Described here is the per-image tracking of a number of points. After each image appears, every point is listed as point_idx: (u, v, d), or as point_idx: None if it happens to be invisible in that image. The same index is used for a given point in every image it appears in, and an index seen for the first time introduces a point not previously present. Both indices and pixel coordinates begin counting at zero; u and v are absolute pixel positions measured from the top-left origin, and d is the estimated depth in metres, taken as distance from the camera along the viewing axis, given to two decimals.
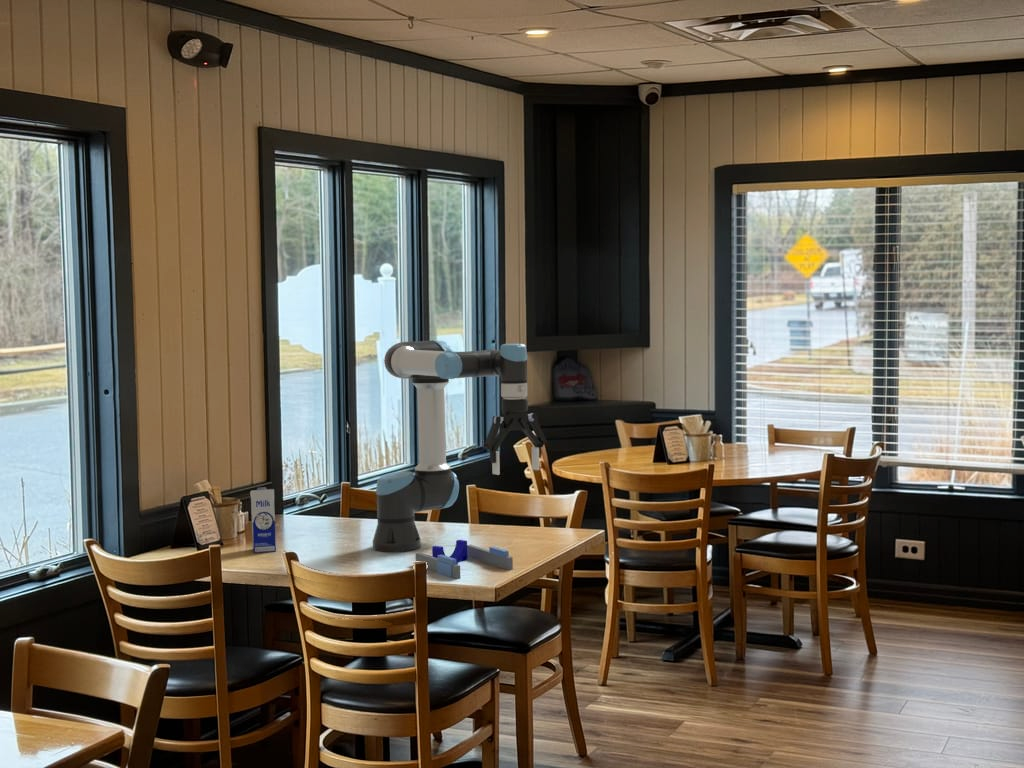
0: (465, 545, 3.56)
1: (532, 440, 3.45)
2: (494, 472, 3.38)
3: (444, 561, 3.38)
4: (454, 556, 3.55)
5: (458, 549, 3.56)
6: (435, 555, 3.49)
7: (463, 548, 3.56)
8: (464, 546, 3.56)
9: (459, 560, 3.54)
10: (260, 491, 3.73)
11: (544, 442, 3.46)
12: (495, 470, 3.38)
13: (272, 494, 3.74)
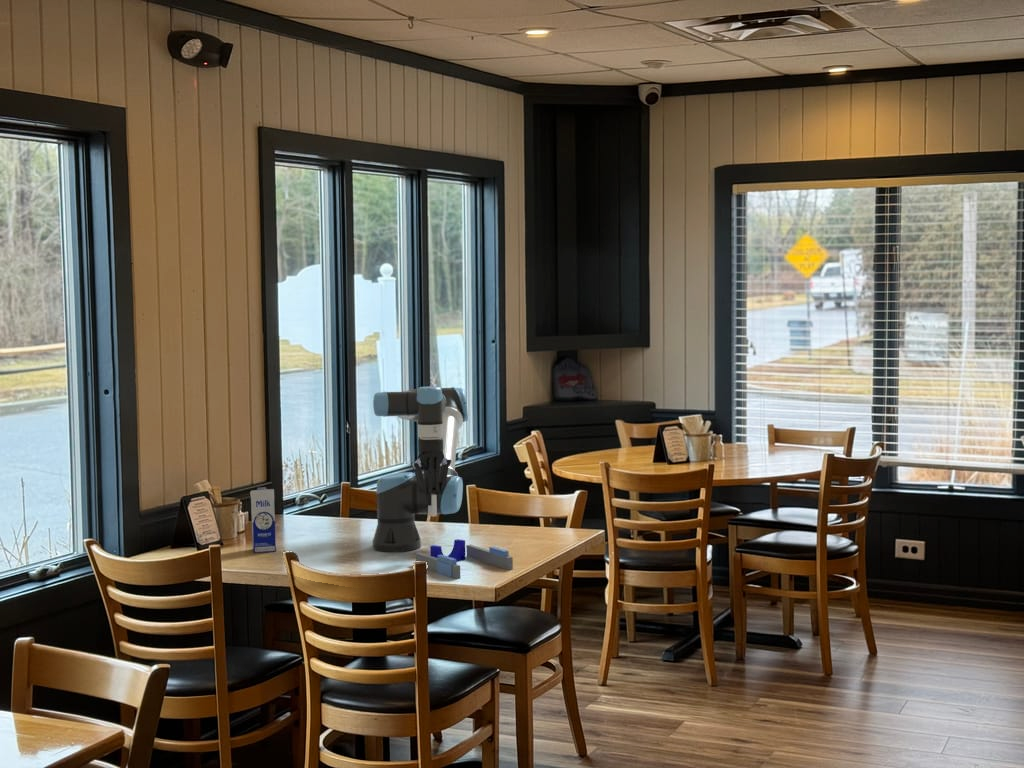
0: (463, 545, 3.57)
1: (434, 484, 3.61)
2: (430, 514, 3.61)
3: (444, 561, 3.38)
4: (452, 556, 3.55)
5: (456, 548, 3.57)
6: (433, 554, 3.50)
7: (461, 548, 3.56)
8: (462, 546, 3.57)
9: (457, 560, 3.55)
10: (260, 491, 3.73)
11: (442, 489, 3.61)
12: (430, 512, 3.60)
13: (272, 494, 3.74)
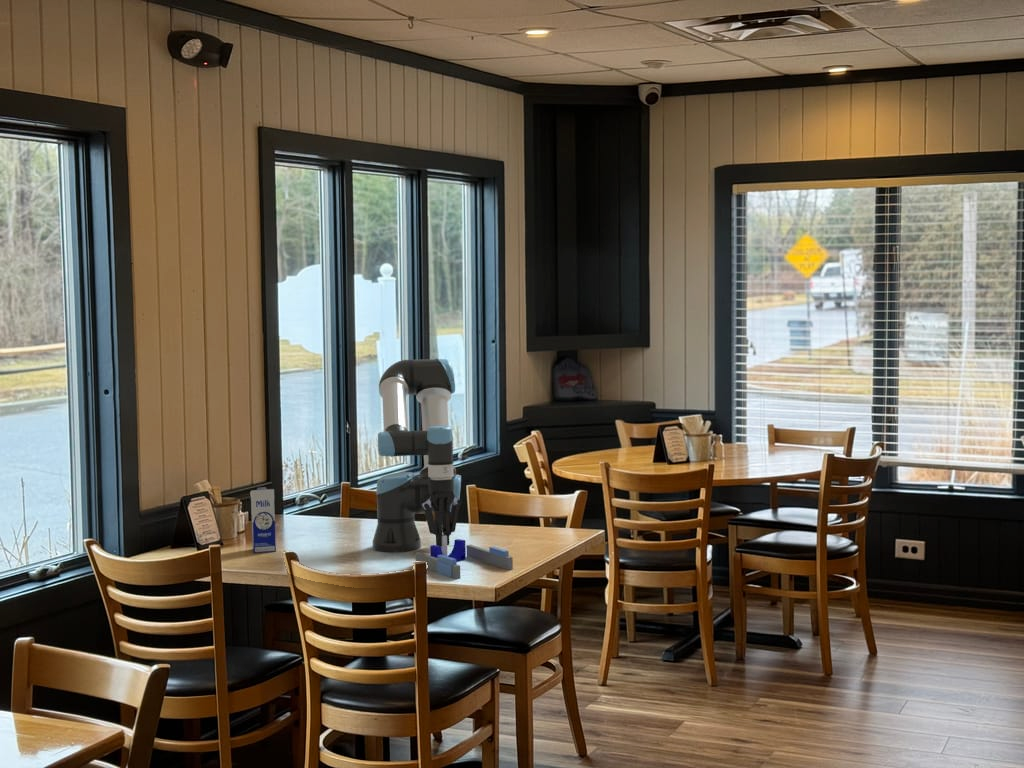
0: (464, 545, 3.57)
1: (444, 524, 3.57)
2: None
3: (444, 561, 3.38)
4: (452, 555, 3.55)
5: (456, 548, 3.57)
6: (433, 554, 3.50)
7: (461, 547, 3.56)
8: (462, 545, 3.57)
9: (457, 559, 3.55)
10: (260, 491, 3.73)
11: (452, 529, 3.57)
12: None
13: (272, 494, 3.74)
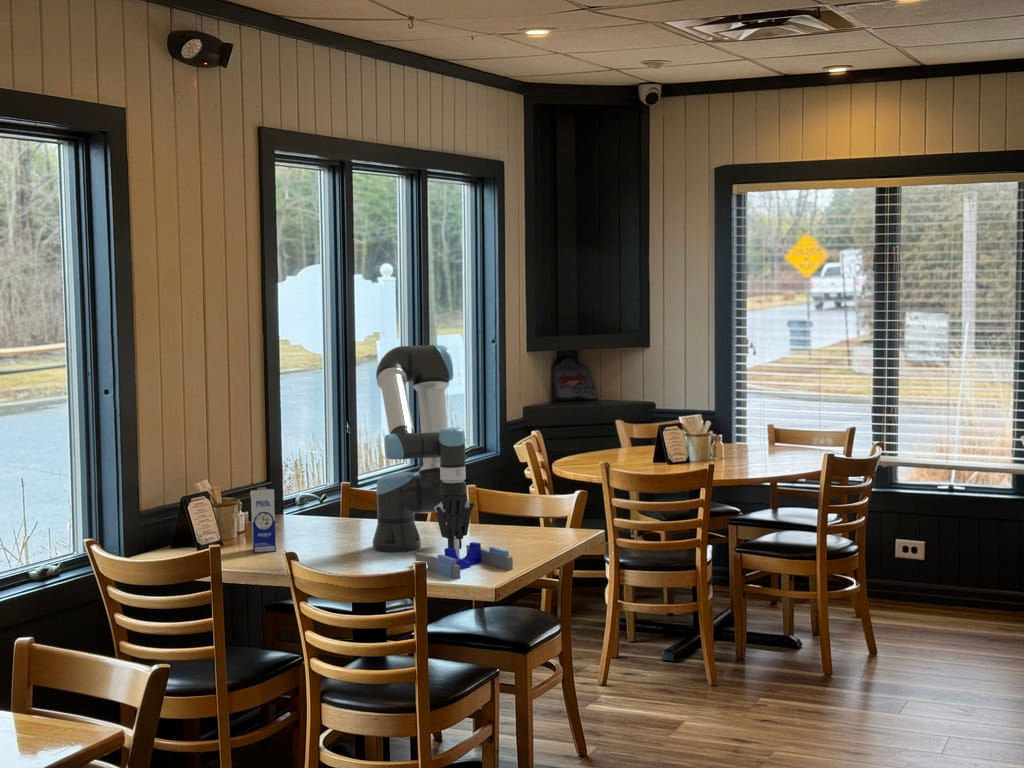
0: (479, 548, 3.52)
1: (456, 528, 3.51)
2: None
3: (444, 561, 3.38)
4: (467, 559, 3.50)
5: (471, 551, 3.52)
6: None
7: (476, 551, 3.51)
8: (477, 549, 3.52)
9: (472, 563, 3.50)
10: (260, 491, 3.73)
11: (464, 533, 3.51)
12: None
13: (272, 494, 3.74)
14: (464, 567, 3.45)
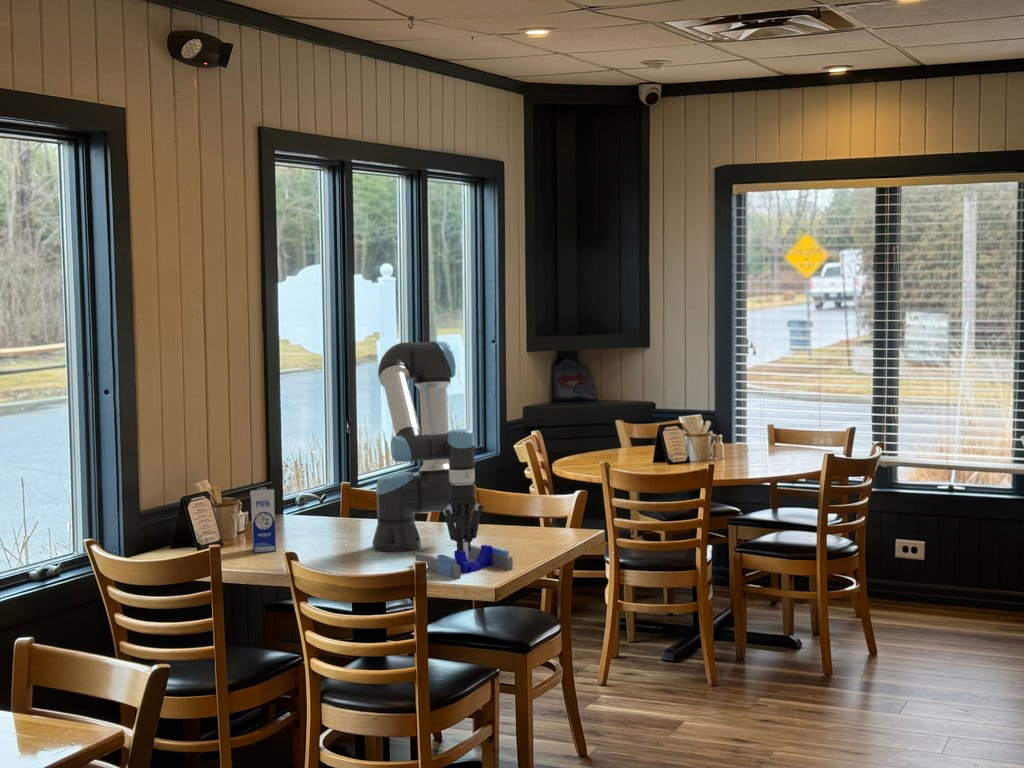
0: (490, 550, 3.48)
1: (465, 531, 3.47)
2: None
3: (444, 561, 3.38)
4: (478, 561, 3.47)
5: (482, 554, 3.48)
6: (457, 560, 3.41)
7: (487, 553, 3.47)
8: (488, 551, 3.48)
9: (483, 565, 3.46)
10: (260, 491, 3.73)
11: (474, 536, 3.47)
12: None
13: (272, 494, 3.74)
14: (474, 570, 3.42)
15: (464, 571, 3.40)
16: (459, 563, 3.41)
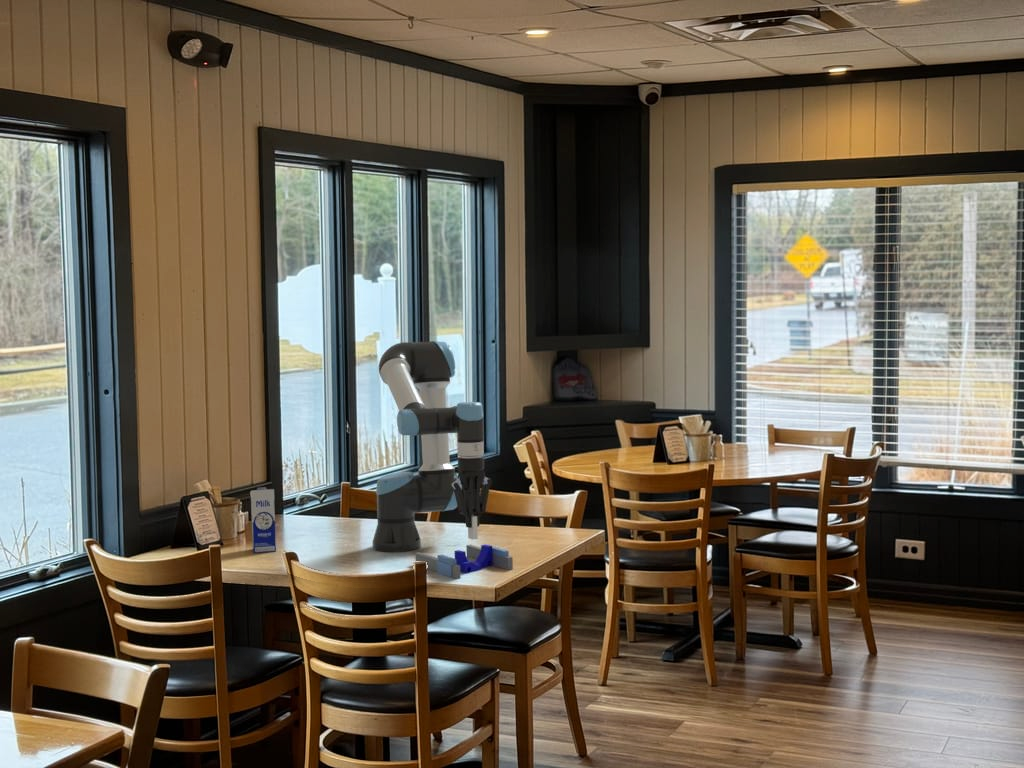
0: (490, 550, 3.48)
1: (474, 505, 3.42)
2: (470, 536, 3.42)
3: (444, 561, 3.38)
4: (478, 561, 3.47)
5: (483, 554, 3.48)
6: (457, 560, 3.42)
7: (488, 553, 3.48)
8: (489, 551, 3.48)
9: (483, 565, 3.46)
10: (260, 491, 3.73)
11: (483, 510, 3.42)
12: (471, 535, 3.41)
13: (272, 494, 3.74)
14: (474, 570, 3.42)
15: (464, 571, 3.40)
16: (459, 563, 3.41)
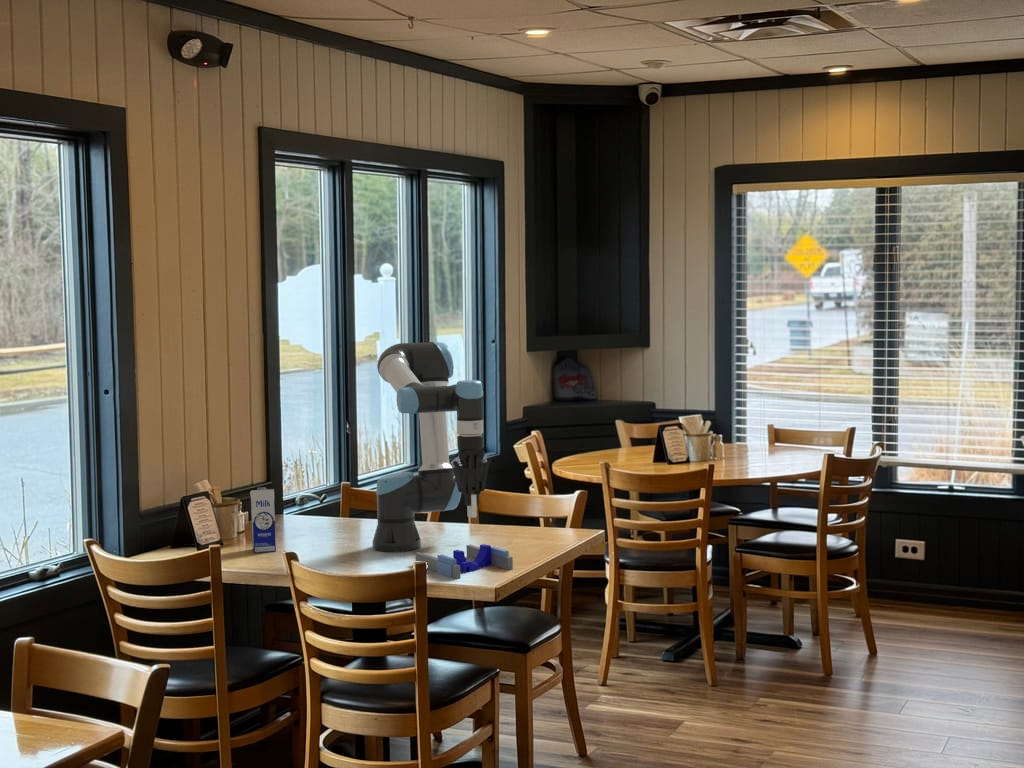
0: (489, 550, 3.49)
1: (473, 483, 3.42)
2: (469, 515, 3.42)
3: (444, 561, 3.38)
4: (477, 561, 3.47)
5: (481, 553, 3.49)
6: (456, 559, 3.42)
7: (486, 553, 3.48)
8: (487, 551, 3.48)
9: (482, 565, 3.47)
10: (260, 491, 3.73)
11: (482, 488, 3.42)
12: (470, 513, 3.41)
13: (272, 494, 3.74)
14: (473, 569, 3.42)
15: (463, 571, 3.40)
16: (458, 563, 3.41)
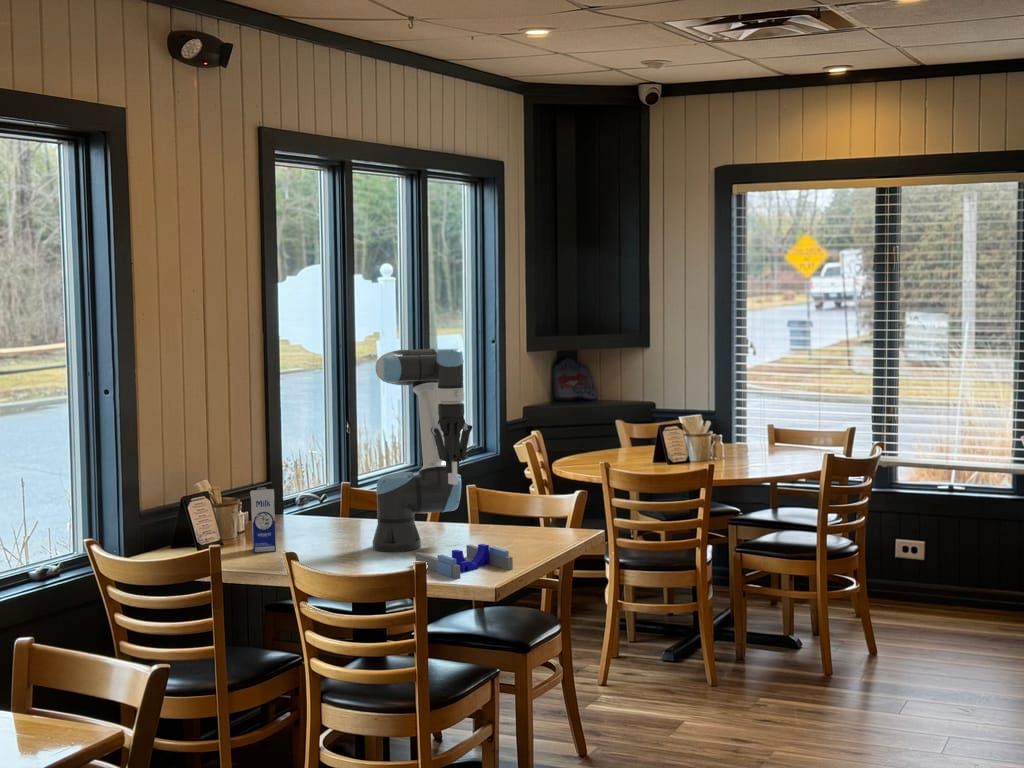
0: (487, 550, 3.49)
1: (454, 450, 3.46)
2: (450, 482, 3.46)
3: (444, 561, 3.38)
4: (475, 560, 3.48)
5: (480, 553, 3.49)
6: None
7: (485, 553, 3.49)
8: (486, 550, 3.49)
9: (480, 565, 3.48)
10: (260, 491, 3.73)
11: (463, 455, 3.46)
12: (451, 480, 3.45)
13: (272, 494, 3.74)
14: (471, 569, 3.43)
15: (461, 570, 3.41)
16: (456, 562, 3.42)
